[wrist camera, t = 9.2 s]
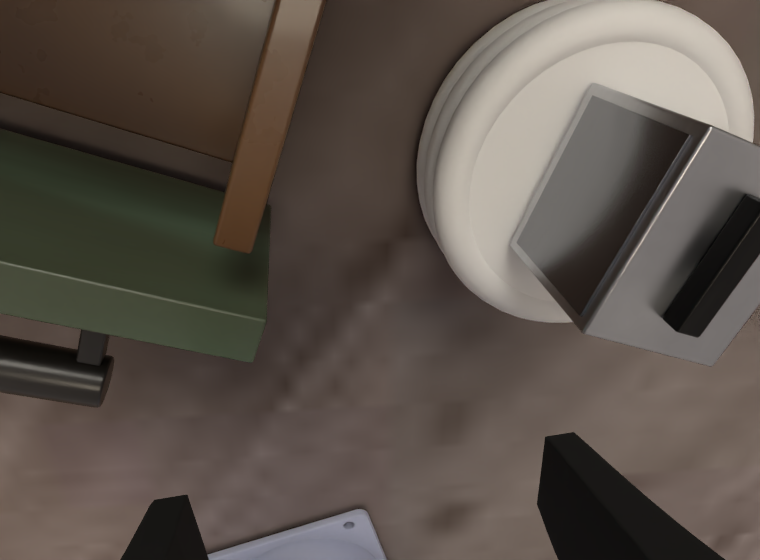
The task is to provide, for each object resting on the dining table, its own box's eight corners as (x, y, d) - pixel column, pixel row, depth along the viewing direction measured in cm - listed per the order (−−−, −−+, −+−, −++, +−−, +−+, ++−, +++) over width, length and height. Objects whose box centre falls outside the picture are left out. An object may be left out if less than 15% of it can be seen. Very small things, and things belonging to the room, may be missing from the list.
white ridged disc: (476, -55, 16) (522, -60, 13) (744, 48, 19) (833, 64, 16) (376, 252, 20) (393, 302, 17) (605, 299, 23) (655, 350, 20)
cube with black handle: (615, 277, 18) (732, 384, 13) (505, 244, 17) (591, 349, 12) (706, 130, 16) (880, 196, 11) (588, 80, 15) (730, 131, 10)
